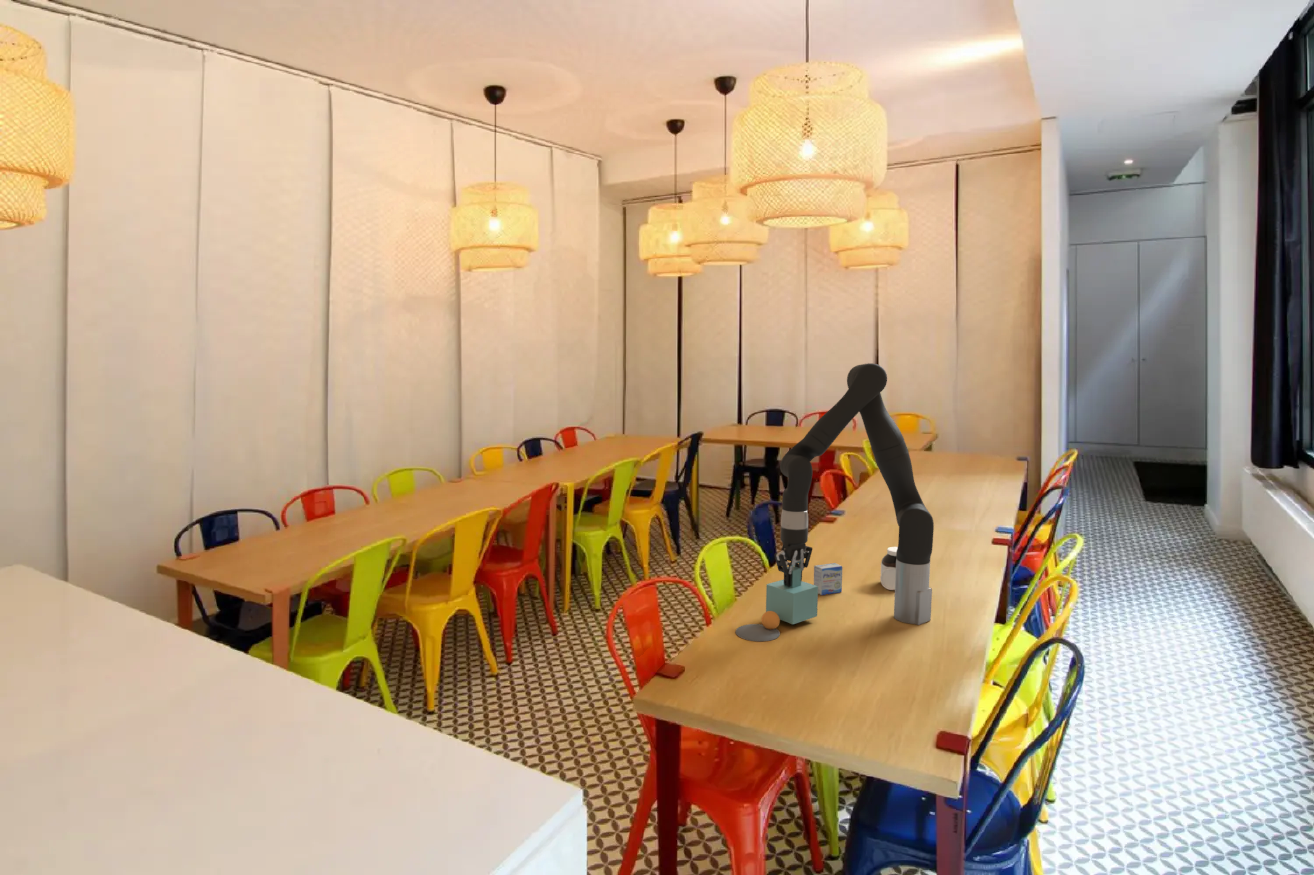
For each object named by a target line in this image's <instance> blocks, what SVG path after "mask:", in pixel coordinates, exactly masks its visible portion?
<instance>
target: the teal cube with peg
mask: <svg viewBox="0 0 1314 875" xmlns="http://www.w3.org/2000/svg"><path fill="white" fill-rule="evenodd" d="M788 568H789V566H787V569H788ZM791 574H792V586H790V587H788V586H785V585H784V579H781V580H777V581H774V582H773V581H772V582H770V583H767V584H766V586H765V587H766V590H765V591H766V595H765V597H766V598H765V612H767V611H773V612H775V613H777V614H778V616H779V619H780V621H782V622H786V623H789V624H791V625H795V624H799V623H801V622H804V621H806V620H810V619H813V618H816V617H818V601H819V599H818V598H819V596H818V595H819V594H818V586H816V585H814V584H811V583H809V582H807V581H803V580H802V581H801V568H798V567H795V566H793V569H792V573H791Z"/></svg>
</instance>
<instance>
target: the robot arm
mask: <svg viewBox="0 0 1314 875" xmlns="http://www.w3.org/2000/svg"><path fill="white" fill-rule="evenodd" d="M846 383H847V384H846V385H847V388H848V389H847V391H846V392H845V393H844V394H843V396H842V397H841V398H840V399H839V400H838V401H837V402H836V403H835V404H834V405H833V406H832V407H831V408H830V409H829V410H828V411H826V412H825V413H824V414H823V415H822V416H821V417H819V419H818V420H817V421H816V422H815V423H814V425H813V426H812V427H811V428H810V429H809V431H808V432H807V433H806V434H805V435H804V436H803V438H802V439H801V440H799V442H797V443H796V444H795V445H794V446H792V448H790V449H789V450H788V451H787V452H786V453H785V454H784V456H783V457H782V459H781V461H780V465H779V469H780V472H781V473H782V475H783V476H784V477H787V487H786V488H785V489H784V490H783V492H782V499H781V500H782V501H781V502H782V504H781V505H782V506H781V507H782V508H781V515H780V542H781V544H782V546H781V551H779V552H775V553H774V559H775V563H776V566H777V570H778V571H779V572H781V573H783V580H784V585H785V586H788V587H790V586H792V574H791V573H792V569H793V566H795V567H798V568H801V581H803V571H804V569H805V568H808V567H809V563H810V559H811V557H812V556H811V555H812V552H813V547H811V546H808V545H806V543H808V538H809V513H808V512H809V510H808V509H809V508H808V505H809V493H810V492H809V491H810V488H811V485H812V481H813V480H812V478H813V466H812V463H811V461H813V460H814V459H815V458H816V457H820V456H823V455H824V454H825V453H826V451H827V450H828V449H829V448H830V447H831V445H832V444H833V443H834V441H835V440H836V439H837V438H838V437H839V435H840V434H841V433H842V432H843V430H845V428H846V427H847V426H848V425H849V423H851V421H852V420H853V419H854V418H855V417H856V416H857V414H860V416H861V419H862V423H863V425H864V429H865V432H866V435H867V439H868V441H869V444H870V445H869V446H870V448H871V451H872V454H873V457H874V461H875V462H876V465H877V467H878V470H879V471H880V474H881V477H882V479H883V480H884V482H885V484H886V487H887V488H888V491H889V493H890V495H891V500H892V505H893V509H894V513H895V517H896V518H895V519H896V522H897V525H898V542H897V544H898V545H897V547H898V549H897V552H896V576H895V590H894V600H893V602H894V604H893V618H894V619H895V620H896V621H898V622H902V623H904V624H910V625H911V624H913V625H918V626H920V625H923V624H925V623H926V622H930V621H931V618H932V601H933V600H932V599H933V598H932V597H933V596H932V595H933V589H932V587H930V578H931V577H930V576H931V575H930V574H931V556H932V553H933V546H934V545H933V544H934V531H935V530H934V529H935V527H934V526H935V524H934V518H933V516H932V514H931V513H930V512H929V510H928V509H927V507H926V506H925V503H924V502H923V499H922V497H921V495H920V493H919V490H918V488H917V486H916V483H915V478H914V472H913V466H912V461H911V460H912V459H911V456H910V453H909V449H908V446H907V443H906V441H905V438H904V436H903V434H902V432H901V430H900V428H899V427H898V425H897V424H896V422H895V420H894V418H892V417H891V415H890V413H889V411H888V410H887V409H886V405H885V403H884V400H883V396H882V393H881V392H883V390H884V389H885V388H886V387H887V386H886V385H887V383H888V374H887V372H886V370H885V369H884V367H883V366H881V365H880V364H877V363H874V362H873V363H869V362H867V363H862V364H858V365H855V366H853V367H852V368H850V370H849V372H848V374H847V378H846ZM787 567H789V568H788V569H787Z"/></svg>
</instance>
